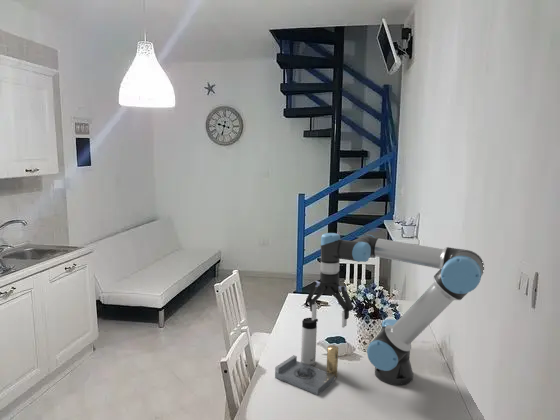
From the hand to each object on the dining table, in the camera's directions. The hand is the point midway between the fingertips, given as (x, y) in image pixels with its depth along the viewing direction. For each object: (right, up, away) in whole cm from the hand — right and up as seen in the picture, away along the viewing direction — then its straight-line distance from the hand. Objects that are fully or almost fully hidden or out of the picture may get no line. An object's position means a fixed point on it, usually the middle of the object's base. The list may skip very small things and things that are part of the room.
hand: (328, 322), depth 174 cm
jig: (-10, -22, -2) cm, 24 cm away
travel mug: (-8, -20, +11) cm, 24 cm away
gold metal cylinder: (+1, -22, +1) cm, 22 cm away
